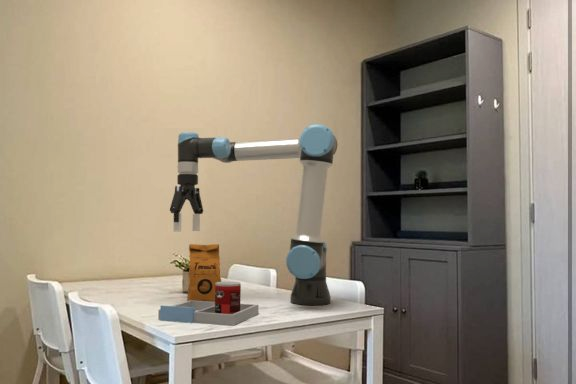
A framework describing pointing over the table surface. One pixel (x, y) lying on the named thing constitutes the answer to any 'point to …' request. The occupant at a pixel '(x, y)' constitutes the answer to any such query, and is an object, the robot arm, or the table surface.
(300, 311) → the table surface
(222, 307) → the canned food
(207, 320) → the grey shallow tray
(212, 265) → the coffee package
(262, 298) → the table surface
